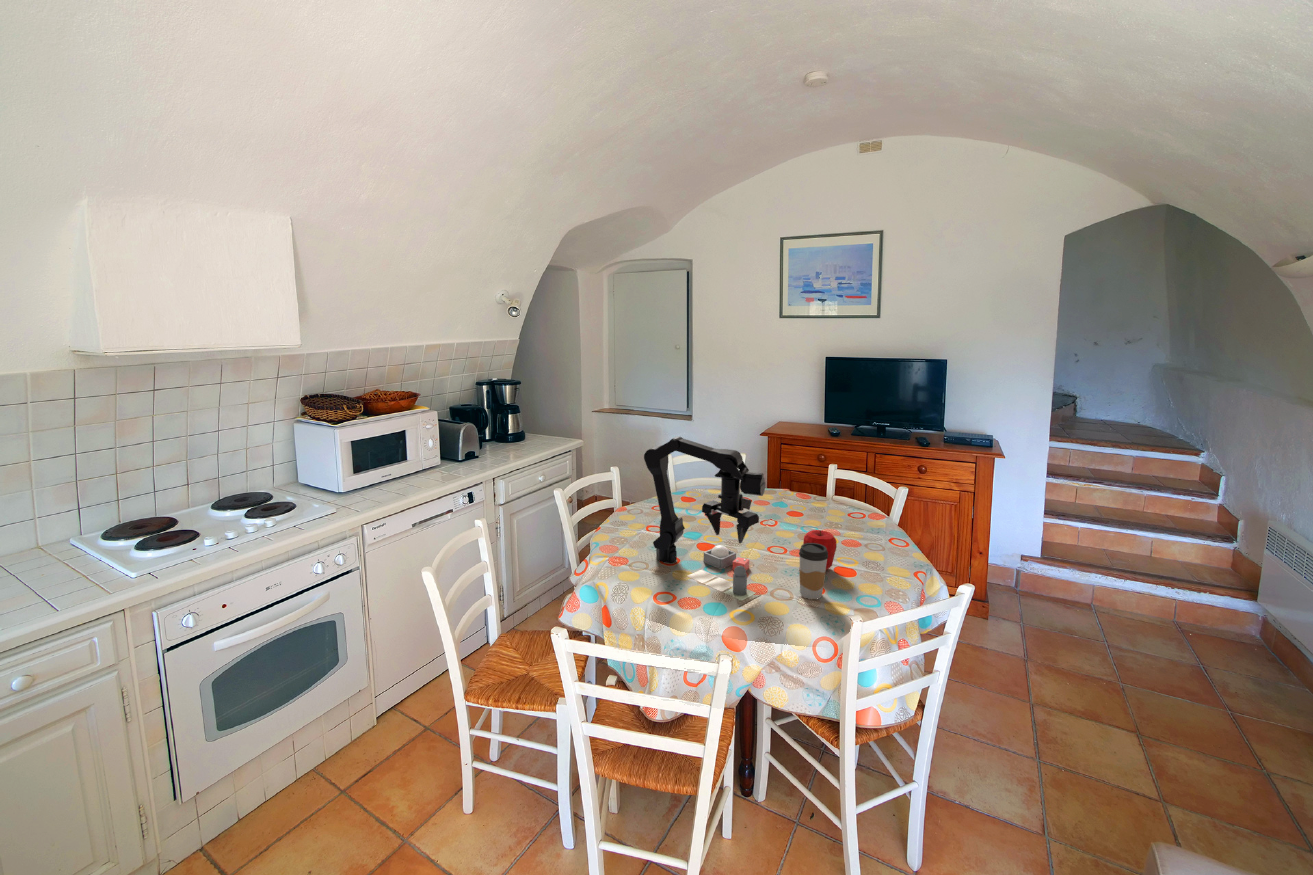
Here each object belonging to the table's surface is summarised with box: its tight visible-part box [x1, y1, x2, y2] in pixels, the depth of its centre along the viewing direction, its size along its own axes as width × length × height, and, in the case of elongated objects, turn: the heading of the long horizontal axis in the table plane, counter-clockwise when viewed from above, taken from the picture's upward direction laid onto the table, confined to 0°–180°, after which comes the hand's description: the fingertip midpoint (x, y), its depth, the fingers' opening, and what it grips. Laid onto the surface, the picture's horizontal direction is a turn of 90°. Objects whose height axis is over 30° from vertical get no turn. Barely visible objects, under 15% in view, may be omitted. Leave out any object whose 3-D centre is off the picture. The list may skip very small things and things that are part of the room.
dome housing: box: [703, 548, 737, 570], centre depth 198 cm, size 8×8×4 cm
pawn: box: [732, 566, 748, 596], centre depth 177 cm, size 4×4×8 cm
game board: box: [686, 569, 762, 608], centre depth 183 cm, size 23×10×1 cm, turn 44°
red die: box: [732, 556, 750, 571], centre depth 193 cm, size 4×4×4 cm
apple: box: [802, 529, 838, 571], centre depth 194 cm, size 11×10×14 cm
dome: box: [711, 544, 729, 558], centre depth 198 cm, size 6×6×6 cm
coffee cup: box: [798, 543, 828, 600], centre depth 177 cm, size 8×8×15 cm
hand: (728, 538), depth 190 cm, fingers open, 9 cm apart
